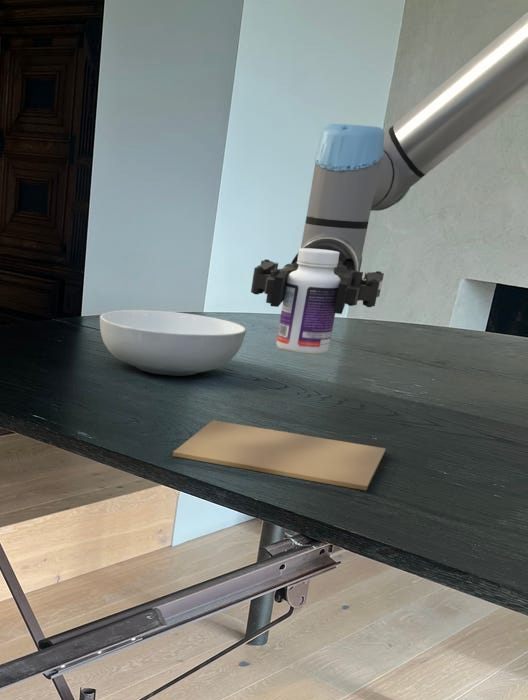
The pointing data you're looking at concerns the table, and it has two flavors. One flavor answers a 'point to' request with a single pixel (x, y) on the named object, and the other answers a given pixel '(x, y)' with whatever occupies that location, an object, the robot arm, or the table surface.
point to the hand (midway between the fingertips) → (308, 295)
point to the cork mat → (284, 454)
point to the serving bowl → (170, 340)
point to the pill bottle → (309, 303)
